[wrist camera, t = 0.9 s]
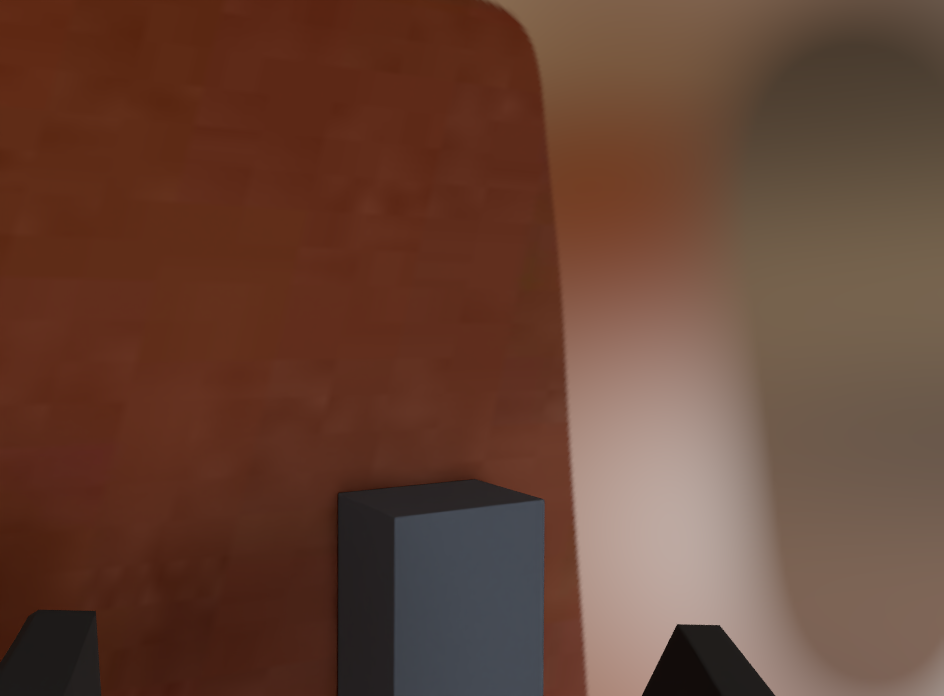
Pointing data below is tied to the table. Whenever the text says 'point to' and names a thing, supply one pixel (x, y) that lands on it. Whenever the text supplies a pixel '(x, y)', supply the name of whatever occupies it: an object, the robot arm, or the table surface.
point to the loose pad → (440, 591)
